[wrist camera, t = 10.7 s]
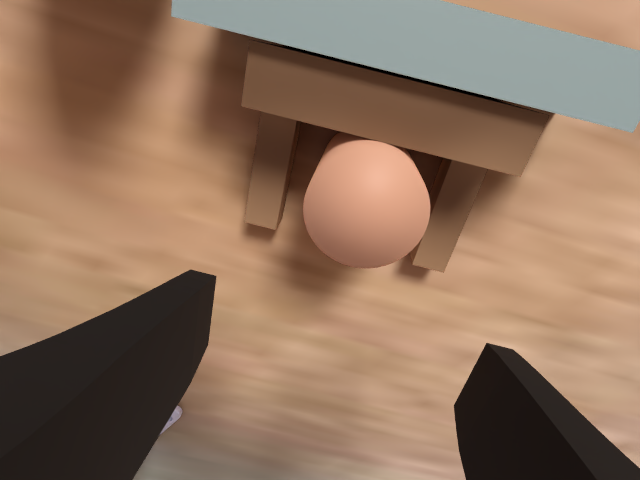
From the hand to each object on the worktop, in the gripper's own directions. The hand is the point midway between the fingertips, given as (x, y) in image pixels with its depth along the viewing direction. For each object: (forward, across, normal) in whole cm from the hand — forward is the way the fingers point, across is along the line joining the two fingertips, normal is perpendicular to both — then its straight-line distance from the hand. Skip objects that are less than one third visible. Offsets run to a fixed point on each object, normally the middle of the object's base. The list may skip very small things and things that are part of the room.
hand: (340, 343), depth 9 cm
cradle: (+10, 0, -2) cm, 10 cm away
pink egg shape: (+10, 0, -2) cm, 10 cm away
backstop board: (+10, 0, -7) cm, 12 cm away
